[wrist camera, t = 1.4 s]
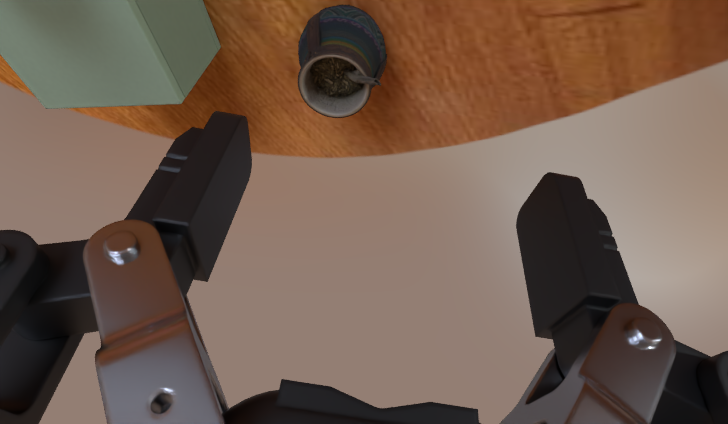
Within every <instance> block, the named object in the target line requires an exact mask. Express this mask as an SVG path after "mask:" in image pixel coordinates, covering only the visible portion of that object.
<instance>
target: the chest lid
mask: <svg viewBox="0 0 728 424" xmlns="http://www.w3.org/2000/svg"><path fill="white" fill-rule="evenodd" d="M0 54H1V56H2V57H3V58H4V59H5V60H6V62H7V63H8V64H9V65H10V66H11V68H12V69H13V70H14V71H15V72H16V74H17V75H18V76H19V77H20V78H21V80H22V81H23V82H24V83H25V84H26V86H27V87H28V88H29V89H30V90H31V92H32V93H33V94H34V95H35V96H36V98H37V99H38V100H39V101H40V102H41V103H42V105H43V106H44V107H45V108H46V109H58V108H85V107H112V106H140V105H167V104H182V102H183V101H184V99H185V97H184V96H183V94H182V92H181V90H180V88H179V86H178V84H177V82H176V80H175V78H174V76H173V74H172V72H171V70H170V68H169V66H168V64H167V62H166V60H165V59H164V57H163V55H162V53H161V51H160V49H159V47H158V45H157V43H156V41H155V39H154V37H153V35H152V33H151V31H150V29H149V27H148V25H147V23H146V21H145V20H144V18H143V16H142V14H141V12H140V10H139V8H138V6H137V4H136V2H135V0H0Z"/></svg>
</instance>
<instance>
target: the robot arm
mask: <svg viewBox="0 0 728 424" xmlns="http://www.w3.org/2000/svg"><path fill="white" fill-rule="evenodd" d="M251 167H252V157H251V148H250V138H249V129H248V121H247V118H246V117H245V116H242V115H236V114H231V113H225V112H220V111H215V112H214V113H213V114H212V115H211V117H210V119H209V121H208V122H207V124H206V126H205V127H204V129H200V128H195V127H192V128H190V129H189V130H188V131H186V132H185V133H183V134H182V135H181V136H179V137H178V138H176V139H175V141H174V142H173V144H172V146H171V147H170V149H169V150H168V152H167V154H166V157H164V158H163V160H162V162H161V163H160V165H159V168H158V170H156V171H155V173H154V174H153V176H152V177H151V179H150V181H149V182H148V184H147V185H146V187H145V189H144V190H143V192H142V193H141V195H140V197H139V198H138V200H137V201H136V203H135V204H134V206H133V208H132V209H131V211H130V212H129V214H128V215H127V217H126V218H125V219H124V220H122V221H118V222H114V223H112V224H109V225H107V226H105V227H103V228H102V229H100V230H98V231H97V232H96V233H95V234H94V235H92V237H91V238H90V239H87V240H81V241H72V242H62V243H52V244H43V245H38V244H37V243H36V242H35V241H34V240H33V239H32V238H31V236H29V235H28V234H26V233H24V232H20V231H16V230H0V424H39V422H40V420H41V418H42V416H43V414H44V412H45V410H46V408H47V406H48V404H49V402H50V400H51V398H52V396H53V394H54V392H55V390H56V388H57V386H58V384H59V382H60V381H61V378H62V377H63V374H64V373H65V371H66V369H67V367H68V365H69V363H70V361H71V359H72V357H73V355H74V353H75V351H76V349H77V347H78V345H79V343H80V341H81V339H82V337H83V335H84V333H89V332H96V331H99V333H100V339H101V348H100V349H99V350H97V351H96V354H95V364H96V371H97V376H98V380H99V386H100V390H101V395H102V400H103V405H104V410H105V414H106V419H107V424H481V423H479V420H478V409H473V408H465V407H460V406H453V405H447V404H440V403H433V402H427V403H420V404H413V405H406V406H398V407H391V408H383V409H382V408H377V407H374V406H372V405H369V404H367V403H365V402H363V401H361V400H358V399H356V398H354V397H352V396H349V395H348V394H346V393H343V392H341V391H339V390H337V389H335V388H332V387H329V386H323V385H316V384H309V383H303V382H297V381H290V380H284V379H282V380H281V384H280V389H279V390H275V391H268V392H265V393H261V394H258V395H255V396H253V397H250V398H248V399H245V400H243V401H242V402H240V403H238V404H236V405H234V406H233V407H231V408H230V409H229V407H228V405H227V402H226V399H225V396H224V394H223V391H222V388H221V386H220V383H219V381H218V378H217V376H216V373H215V370H214V368H213V366H212V363H211V360H210V358H209V355H208V352H207V350H206V347H205V344H204V341H203V339H202V336H201V333H200V330H199V328H198V325H197V322H196V319H195V317H194V314H193V311H192V309H191V306H190V303H189V300H188V298H187V292H188V290H189V288H190V286H191V283H192V281H193V279H194V280H200V281H206V282H208V279H209V277H210V274H211V272H212V270H213V267H214V264H215V262H216V260H217V257H218V255H219V252H220V250H221V247H222V245H223V242H224V240H225V237H226V235H227V233H228V230H229V228H230V225H231V223H232V220H233V218H234V215H235V213H236V211H237V208H238V206H239V203H240V200H241V198H242V195H243V193H244V191H245V188H246V186H247V183H248V181H249V177H250V173H251ZM516 228H517V234H518V240H519V246H520V251H521V256H522V263H523V268H524V274H525V280H526V285H527V291H528V296H529V302H530V308H531V313H532V319H533V325H534V330H535V336H536V337H541V338H547V339H553V342H554V346H555V348H554V349H553V350H552V351H551V352H550V353H549V354H548V355H547V357H546V359H545V361H544V362H543V363H542V365H541V367H540V368H539V370H538V372H537V373H536V375H535V377H534V378H533V380H532V381H531V383H530V385H529V386H528V388H527V389H526V391H525V393H524V394H523V396H522V397H521V399H520V401H519V402H518V404H517V405H516V407H515V408H514V409H513V410H512V411H511V412H510V413H509V414H508V415H507V416H506V417H505V418H504V419H503V420H502V421H501V423H500V424H728V351H725V352H723V353H720V354H718V355H715V356H713V357H710V356H708V355H706V354H703V353H702V352H699V351H697V350H695V349H693V348H691V347H689V346H686V345H684V344H682V343H680V342H678V341H676V340H674V338H673V335H672V333H671V332H670V330H669V329H668V327H667V326H666V324H665V323H664V322H663V321H662V320H661V319H660V318H659V317H658V316H657V315H655V314H654V313H653V312H652V311H650V310H648V309H647V308H645V307H642V306H640V305H639V304H638V301H637V299H636V296H635V293H634V291H633V288H632V285H631V282H630V280H629V277H628V275H627V272H626V269H625V266H624V263H623V261H622V258H621V255H620V253H619V251H617V244H616V242H615V239H614V237H612V231H611V228H610V225H609V223H608V220H607V217H606V216H605V214H604V213H603V212H602V211H601V209H600V208H599V207H598V205H597V204H596V203H595V202H594V201H593V200H591V199H587V196H586V193H585V190H584V187H583V184H582V182H581V180H580V179H579V178H578V177H573V176H567V175H561V174H557V173H551V172H549V173H547V174H545V175H544V176H543V177H542V179H541V180H540V182H539V183H538V184H537V186H536V187H535V189H534V190H533V192H532V193H531V194H530V196H529V197H528V199H527V200H526V202H525V203H524V204H523V206H522V207H521V209H520V211H519V214H518V217H517V224H516Z"/></svg>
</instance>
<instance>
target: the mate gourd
mask: <svg viewBox="0 0 728 424" xmlns="http://www.w3.org/2000/svg"><path fill="white" fill-rule="evenodd" d="M298 46H299V51H298V52H299V53H298V54H299V64H300V66H301V69H300V72H299V75H298V87H299V91H300V94H301V96H302V98H303V100H304V101H305V102H306V103H307V105H308V106H309V107H310V108H312V109H313V110H314V111H316V112H318V113H320V114H322V115H324V116H327V117H333V118H343V117H348V116H351V115H353V114H355V113H357V112H358V111H360V110H361V109H362V108H363V107H364V106H365V104H366V103H367V101H368V99H369V97H370V93H371V89H372V88H373V87H374V86H375V85H380V86H381V83H380V82H379V80H380V78H381V76H382V74H383V72H384V69H385V66H386V60H387V54H386V50H385V43H384V39H383V35H382V34H381V31H380V30H379V27H378V25H377V24H376V22H375V21H374V20H373V18H372V17H371V16H370V15H368V14H367V13H366V12H364V11H363V10H361V9H359V8H356V7H354V6H350V5H338V6H332V7H328V8H325V9H323V10H321V11H320V12H319V13H317V14H315V15H314V16H313V17H312V18H311V19H310V20H309V21H308V24H307V25H306V27H305V29H304V31H303V33H302V35H301V38H300V41H299V45H298Z"/></svg>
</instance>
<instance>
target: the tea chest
mask: <svg viewBox="0 0 728 424" xmlns="http://www.w3.org/2000/svg"><path fill="white" fill-rule="evenodd" d="M135 2H136V4H137V6H138V8H139V10H140V12H141V14H142V16H143V18H144V20H145V21H146V23H147V25H148V27H149V29H150V31H151V33H152V35H153V37H154V39H155V41H156V43H157V45H158V47H159V49H160V51H161V53H162V55H163V57H164V59H165V60H166V62H167V64H168V66H169V68H170V70H171V72H172V74H173V76H174V78H175V80H176V82H177V84H178V86H179V88H180V90H181V92H182V94H183V96H184V97H185V98H186V97H187V95H188V94H189V92H190V91H191V89H192V88H193V87H194V85H195V84H196V82H197V81H198V79H199V78H200V77H201V75H202V74H203V72H204V71H205V69H206V68H207V66H208V65H209V64H210V62H211V61H212V59H213V58H214V56H215V55H216V54H217V52H218V51H219V49H220V48H221V46H220V43H219V41H218V38H217V36H216V33H215V30H214V28H213V25H212V23H211V20H210V18H209V15H208V13H207V10H206V7H205V5H204V2H203V0H135Z"/></svg>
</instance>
